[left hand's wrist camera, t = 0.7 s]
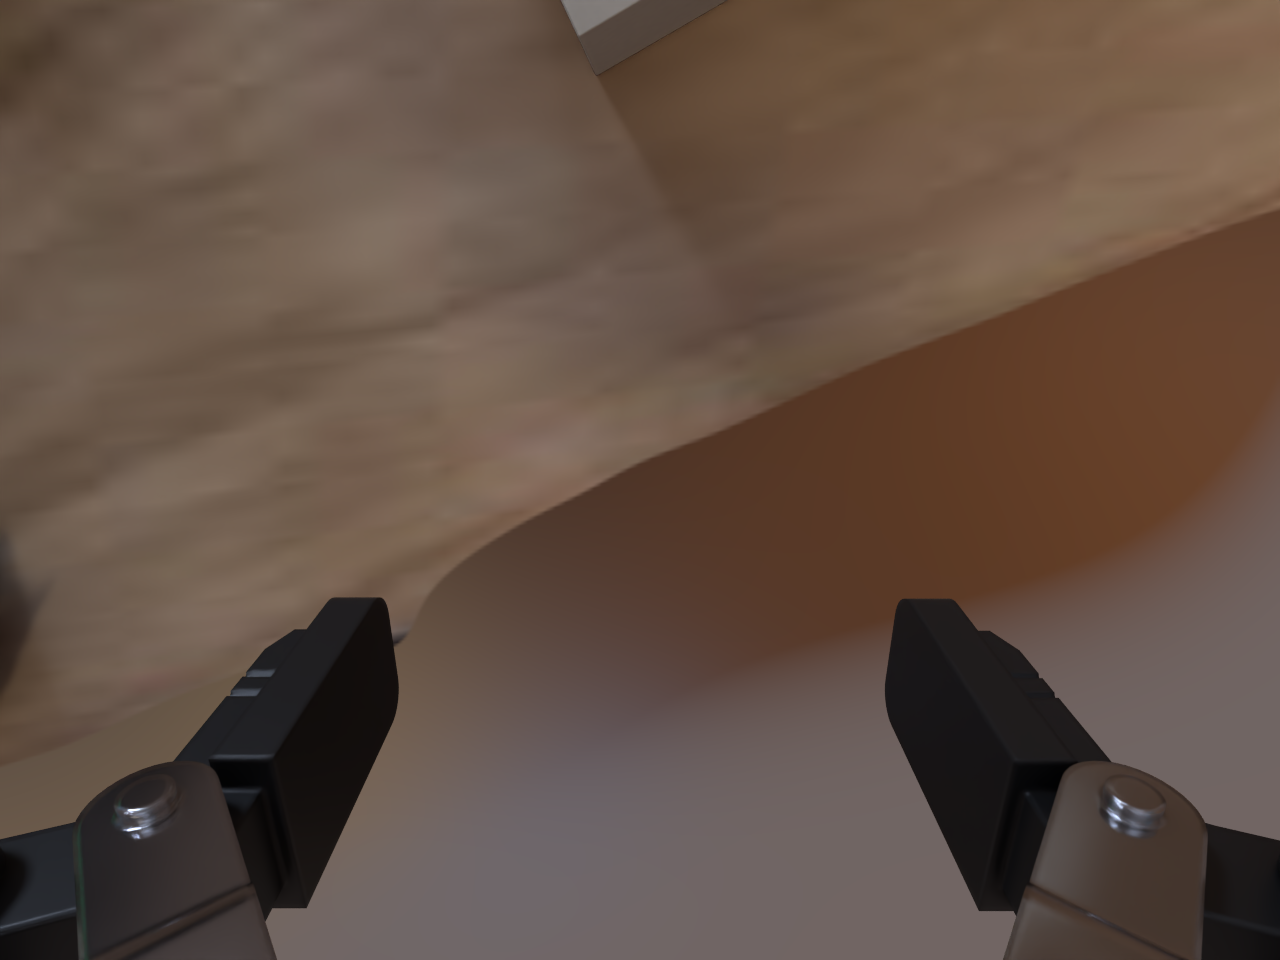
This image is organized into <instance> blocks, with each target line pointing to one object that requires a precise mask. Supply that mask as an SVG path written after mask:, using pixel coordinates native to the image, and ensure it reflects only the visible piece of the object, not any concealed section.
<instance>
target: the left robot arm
mask: <svg viewBox="0 0 1280 960" xmlns="http://www.w3.org/2000/svg"><path fill="white" fill-rule="evenodd" d="M398 694H399V684H398V675H397V668H396V661H395V654H394V647H393V640H392V633H391V626H390V619H389V613H388V608H387V605H386V602H385V601H384V599H382V598H331V599H330V600H329V601H328V602H327V603H326V604H325V606H324V607H323V608H322V610H321V611H320V612H319V614H318V615H317V616H316V618H315V619H314V620H313V622H312V623H311V624H310V626H309V627H308V628H307V629H295V630H293V631H292V632H290V633H289V634H287V635H286V636H284V637H283V638H281V639H280V640H278V641H277V642H275V643H274V644H272V645H271V646H269V647H268V648H266V649H265V650H264V651H263V652H262V653H261V655H260V656H259V657H258V658H257V660H256V661H255V662H254V663H253V664H252V666H251V667H250V668H249V669H248V671H247V672H246V677H242V678H241V679H240V681H239V682H238V683H237V684H236V685H235V686H234V688H233V689H232V690H231V695H230V696H226V697H225V699H224V700H223V701H222V702H221V704H220V705H219V706H218V707H217V708H216V710H215V711H214V712H213V713H212V715H211V716H210V717H209V718H208V720H207V721H206V722H205V723H204V724H203V726H202V727H201V728H200V729H199V731H198V732H197V733H196V734H195V735H194V737H193V738H192V739H191V740H190V742H189V743H188V744H187V745H186V746H185V748H184V749H183V750H182V751H181V752H180V754H179V755H178V756H177V757H176V759H175V760H174V761H173V762H167V763H162V764H158V765H154V766H151V767H148V768H145V769H142V770H139V771H137V772H135V773H132V774H130V775H128V776H126V777H124V778H122V779H120V780H119V781H117V782H115V783H114V784H112V785H111V786H109V787H107V788H106V789H105V790H104V791H102V792H101V793H99V794H98V795H97V796H96V797H95V798H94V799H93V800H92V801H90V802H89V803H88V805H87V806H86V807H85V808H84V809H83V811H82V812H81V813H80V815H79V816H78V818H77V820H76V822H73V823H70V824H66V825H61V826H57V827H52V828H48V829H44V830H39V831H35V832H31V833H26V834H22V835H17V836H13V837H9V838H5V839H0V960H277V958H276V955H275V952H274V948H273V945H272V942H271V939H270V936H269V932H268V929H267V926H266V923H265V921H266V919H267V917H268V915H269V913H270V911H271V909H272V908H307V906H308V904H309V902H310V899H311V897H312V895H313V893H314V891H315V889H316V886H317V884H318V882H319V880H320V878H321V876H322V873H323V871H324V869H325V867H326V865H327V863H328V861H329V858H330V856H331V854H332V852H333V850H334V848H335V846H336V843H337V841H338V839H339V837H340V835H341V833H342V831H343V828H344V826H345V824H346V822H347V820H348V818H349V815H350V813H351V811H352V809H353V807H354V805H355V803H356V800H357V798H358V796H359V794H360V792H361V790H362V788H363V785H364V783H365V781H366V779H367V777H368V775H369V773H370V770H371V768H372V766H373V764H374V762H375V760H376V757H377V755H378V753H379V751H380V749H381V747H382V745H383V742H384V740H385V738H386V736H387V734H388V732H389V730H390V727H391V725H392V723H393V720H394V717H395V714H396V709H397V704H398ZM885 700H886V707H887V713H888V717H889V720H890V722H891V725H892V727H893V729H894V731H895V734H896V736H897V738H898V740H899V742H900V744H901V746H902V748H903V750H904V753H905V755H906V757H907V759H908V761H909V763H910V765H911V768H912V770H913V772H914V774H915V776H916V778H917V780H918V782H919V785H920V787H921V789H922V791H923V793H924V795H925V797H926V799H927V802H928V804H929V806H930V808H931V810H932V812H933V814H934V816H935V818H936V821H937V823H938V825H939V827H940V829H941V831H942V833H943V835H944V838H945V840H946V842H947V844H948V846H949V848H950V850H951V853H952V855H953V857H954V859H955V861H956V863H957V865H958V867H959V869H960V872H961V874H962V876H963V878H964V880H965V882H966V884H967V887H968V889H969V891H970V893H971V895H972V897H973V899H974V901H975V904H976V906H977V908H978V910H979V911H1014V913H1015V915H1016V920H1015V923H1014V926H1013V929H1012V932H1011V936H1010V939H1009V942H1008V945H1007V948H1006V952H1005V955H1004V958H1003V960H1280V841H1279V840H1274V839H1270V838H1266V837H1262V836H1257V835H1253V834H1249V833H1244V832H1240V831H1236V830H1231V829H1227V828H1223V827H1218V826H1214V825H1211V824H1207V823H1205V822H1204V820H1203V818H1202V816H1201V815H1200V813H1199V812H1198V810H1197V809H1196V808H1195V807H1194V806H1193V805H1192V803H1191V802H1190V801H1188V800H1187V799H1186V798H1185V797H1184V796H1183V795H1182V794H1180V793H1179V792H1178V791H1177V790H1175V789H1174V788H1173V787H1171V786H1169V785H1168V784H1166V783H1165V782H1163V781H1162V780H1160V779H1158V778H1156V777H1154V776H1152V775H1150V774H1148V773H1145V772H1143V771H1141V770H1138V769H1135V768H1132V767H1129V766H1126V765H1122V764H1118V763H1113V762H1111V761H1110V760H1109V758H1108V757H1107V756H1106V755H1105V753H1104V752H1103V751H1102V750H1101V749H1100V747H1099V746H1098V745H1097V744H1096V743H1095V741H1094V740H1093V739H1092V738H1091V737H1090V735H1089V734H1088V733H1087V732H1086V731H1085V729H1084V728H1083V727H1082V726H1081V724H1080V723H1079V722H1078V721H1077V720H1076V718H1075V717H1074V716H1073V715H1072V714H1071V712H1070V711H1069V710H1068V709H1067V707H1066V706H1065V705H1064V704H1063V703H1062V701H1061V700H1060V699H1059V698H1055V696H1054V692H1053V691H1052V689H1051V688H1050V687H1049V686H1048V684H1047V683H1046V682H1045V681H1044V680H1043V678H1039V674H1038V672H1037V671H1036V670H1035V669H1034V668H1033V666H1032V665H1031V664H1030V663H1029V661H1028V660H1027V659H1026V658H1025V657H1024V655H1023V654H1022V653H1021V652H1020V651H1019V650H1018V649H1016V648H1015V647H1013V646H1012V645H1010V644H1009V643H1007V642H1006V641H1004V640H1003V639H1001V638H1000V637H998V636H997V635H995V634H994V633H992V632H991V631H978V630H977V629H976V628H975V626H974V625H973V624H972V622H971V621H970V620H969V618H968V617H967V616H966V615H965V613H964V612H963V611H962V609H961V608H960V607H959V605H958V604H957V603H956V602H955V601H954V600H952V599H902V600H901V601H900V602H899V603H898V606H897V609H896V613H895V619H894V626H893V633H892V640H891V647H890V654H889V660H888V667H887V674H886V681H885Z"/></svg>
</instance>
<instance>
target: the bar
mask: <svg viewBox="0 0 1280 960" xmlns="http://www.w3.org/2000/svg"><path fill="white" fill-rule="evenodd" d="M725 1H727V0H561V2H562V4H563V6H564V8H565V11H566V13H567V15H568V17H569V19H570V21H571V24H572V26H573V28H574V30H575V32H576V34H577V36H578V39H579V41H580V43H581V45H582V47H583V49H584V51H585V54H586V56H587V58H588V60H589V62H590V64H591V66H592V69H593V71H594V73H595V75H599V74H601V73H602V72H604V71H606V70H607V69H609V68H611V67H613V66H614V65H616V64H618V63H620V62H621V61H623V60H625V59H626V58H628V57H630V56H632V55H633V54H635V53H637V52H639V51H640V50H642V49H644V48H645V47H647V46H649V45H651V44H652V43H654V42H656V41H658V40H659V39H661V38H663V37H664V36H666V35H668V34H670V33H671V32H673V31H675V30H677V29H678V28H680V27H682V26H683V25H685V24H687V23H689V22H690V21H692V20H694V19H696V18H697V17H699V16H701V15H702V14H704V13H706V12H708V11H709V10H711V9H713V8H715V7H716V6H718V5H720V4H721V3H723V2H725Z"/></svg>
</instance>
